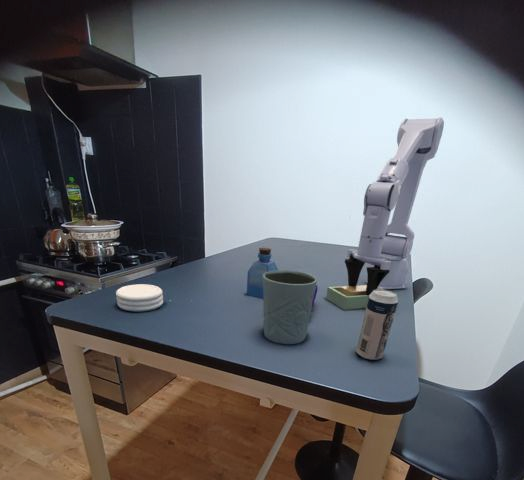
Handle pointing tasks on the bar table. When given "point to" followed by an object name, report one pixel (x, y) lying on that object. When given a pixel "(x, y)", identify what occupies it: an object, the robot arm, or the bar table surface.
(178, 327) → the bar table surface
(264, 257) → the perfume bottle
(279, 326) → the green embossed cup
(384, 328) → the beer can
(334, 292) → the eraser holder
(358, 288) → the eraser
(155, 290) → the coaster
